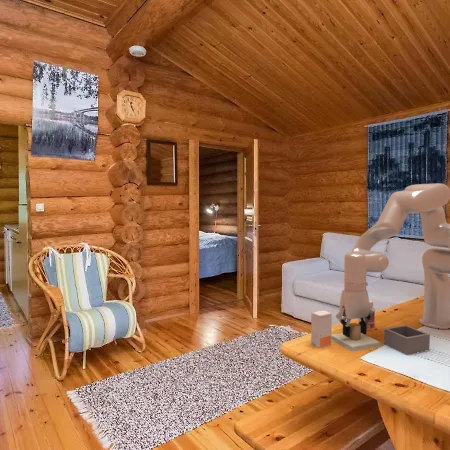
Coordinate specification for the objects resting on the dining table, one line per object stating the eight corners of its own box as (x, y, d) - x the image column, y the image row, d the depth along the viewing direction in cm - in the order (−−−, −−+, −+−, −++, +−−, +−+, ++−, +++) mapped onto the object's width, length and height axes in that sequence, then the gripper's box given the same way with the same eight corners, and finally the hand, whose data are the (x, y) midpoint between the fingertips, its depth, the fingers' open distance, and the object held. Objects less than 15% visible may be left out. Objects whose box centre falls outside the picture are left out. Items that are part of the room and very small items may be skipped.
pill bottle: (377, 328, 145) (378, 301, 145) (368, 332, 142) (368, 303, 141) (364, 324, 150) (364, 297, 150) (354, 327, 147) (355, 300, 146)
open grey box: (405, 340, 132) (405, 324, 132) (429, 351, 123) (429, 334, 123) (384, 344, 129) (384, 328, 129) (406, 356, 120) (407, 338, 119)
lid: (356, 333, 140) (357, 318, 139) (379, 344, 128) (379, 328, 128) (330, 337, 136) (330, 321, 135) (352, 349, 124) (352, 332, 124)
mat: (357, 332, 141) (357, 332, 141) (384, 346, 128) (384, 345, 128) (327, 337, 136) (327, 336, 136) (351, 352, 123) (351, 351, 123)
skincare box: (318, 349, 126) (319, 315, 126) (310, 344, 130) (310, 312, 129) (331, 345, 129) (332, 313, 128) (323, 341, 133) (323, 309, 132)
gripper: (367, 282, 137) (366, 328, 138) (328, 286, 131) (328, 334, 133) (381, 286, 130) (381, 335, 131) (341, 291, 124) (341, 341, 125)
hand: (354, 334), depth 132 cm, fingers open, 6 cm apart
